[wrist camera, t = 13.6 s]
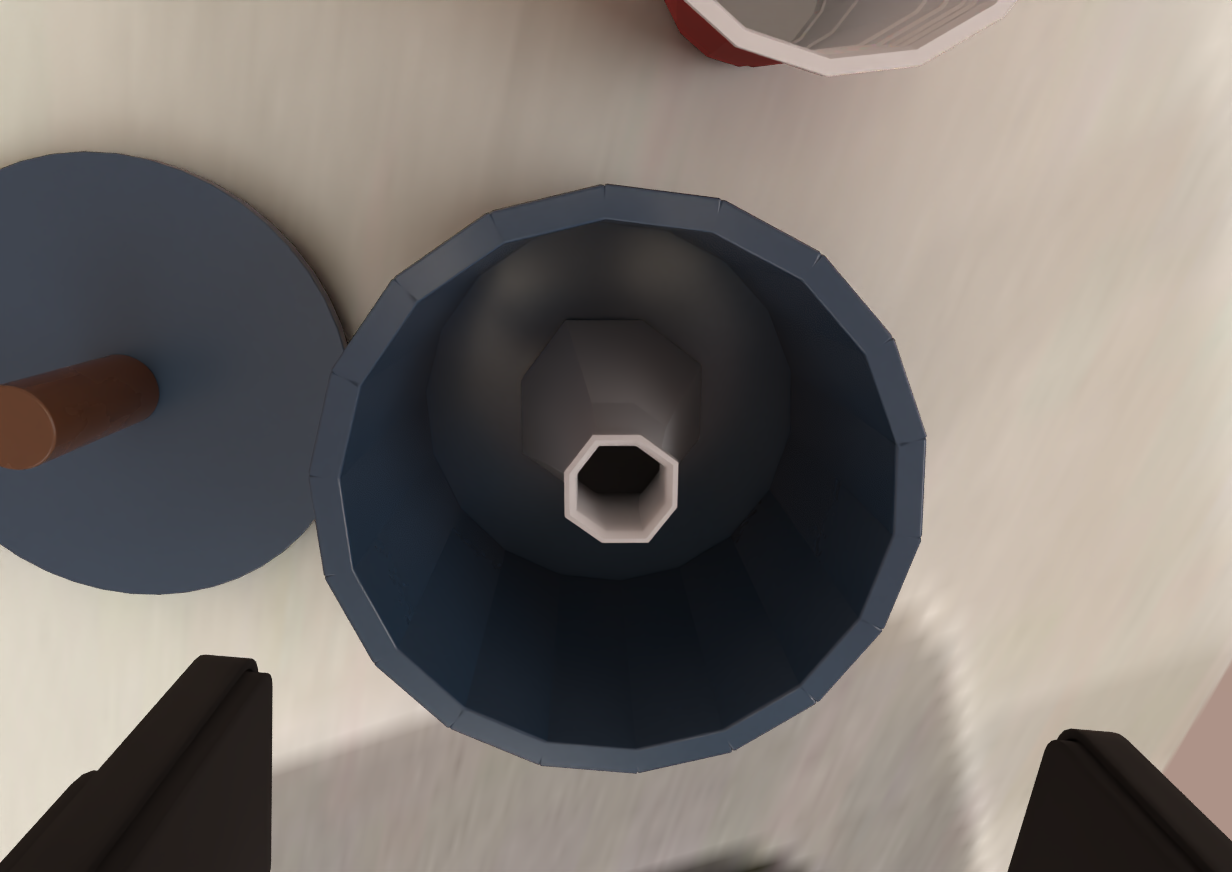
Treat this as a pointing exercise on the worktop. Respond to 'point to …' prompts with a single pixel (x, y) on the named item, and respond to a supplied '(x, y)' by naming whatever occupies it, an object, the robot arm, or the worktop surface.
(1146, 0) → the worktop surface
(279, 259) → the lid
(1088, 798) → the robot arm
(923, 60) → the plastic cup
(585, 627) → the pot
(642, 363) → the flask
